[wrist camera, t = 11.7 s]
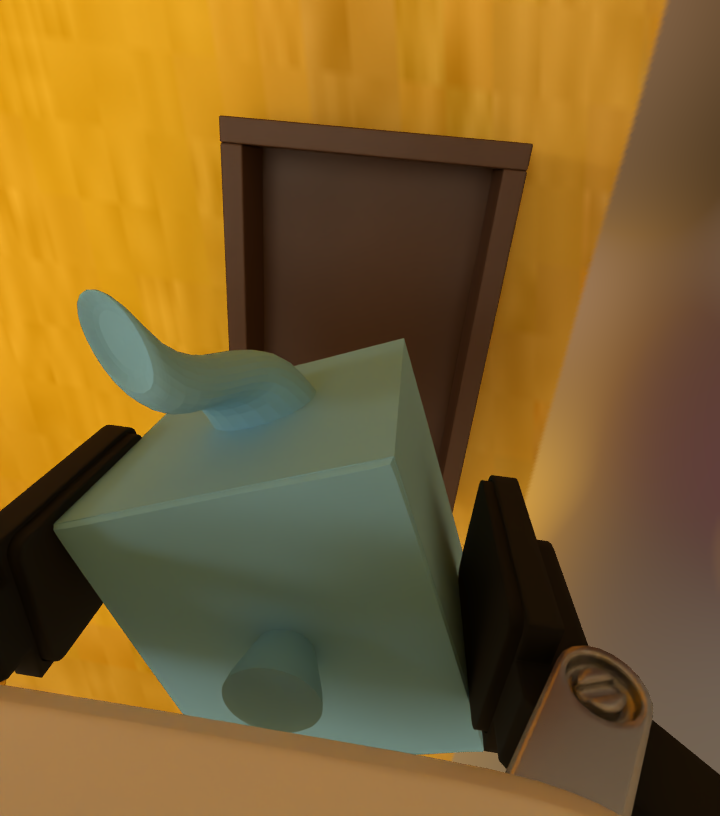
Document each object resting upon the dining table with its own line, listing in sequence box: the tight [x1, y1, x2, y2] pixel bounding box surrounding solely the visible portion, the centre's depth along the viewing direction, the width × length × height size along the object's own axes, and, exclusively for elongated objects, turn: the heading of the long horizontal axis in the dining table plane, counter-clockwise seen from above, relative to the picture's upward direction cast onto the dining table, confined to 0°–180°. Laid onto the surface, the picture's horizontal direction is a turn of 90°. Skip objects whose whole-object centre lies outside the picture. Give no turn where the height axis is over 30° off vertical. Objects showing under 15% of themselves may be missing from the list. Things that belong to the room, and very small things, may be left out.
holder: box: [219, 116, 533, 512], centre depth 21 cm, size 17×11×3 cm, turn 175°
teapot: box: [53, 290, 484, 755], centre depth 11 cm, size 12×6×8 cm, turn 17°
